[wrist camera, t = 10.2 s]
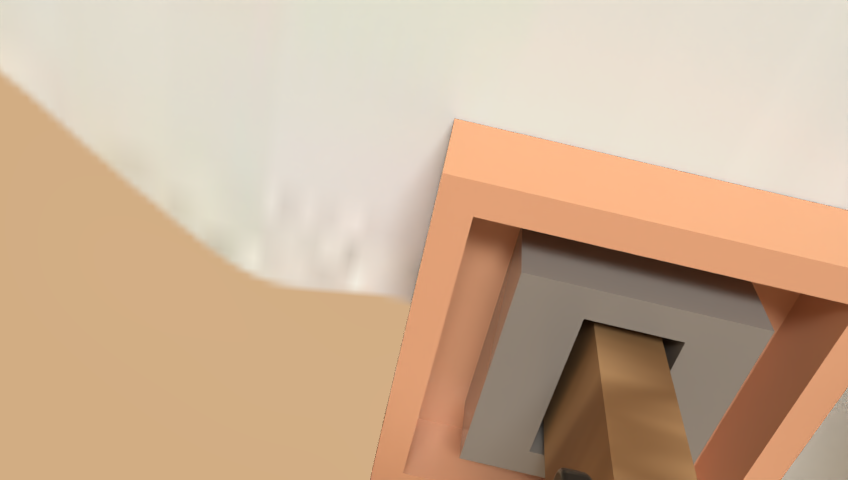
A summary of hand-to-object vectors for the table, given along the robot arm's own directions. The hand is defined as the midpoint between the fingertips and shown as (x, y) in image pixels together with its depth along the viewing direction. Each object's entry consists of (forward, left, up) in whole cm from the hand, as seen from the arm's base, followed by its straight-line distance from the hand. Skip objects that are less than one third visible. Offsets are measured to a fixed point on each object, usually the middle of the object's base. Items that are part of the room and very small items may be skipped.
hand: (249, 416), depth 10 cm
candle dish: (-8, +6, -12) cm, 16 cm away
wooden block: (-8, +6, -11) cm, 15 cm away
